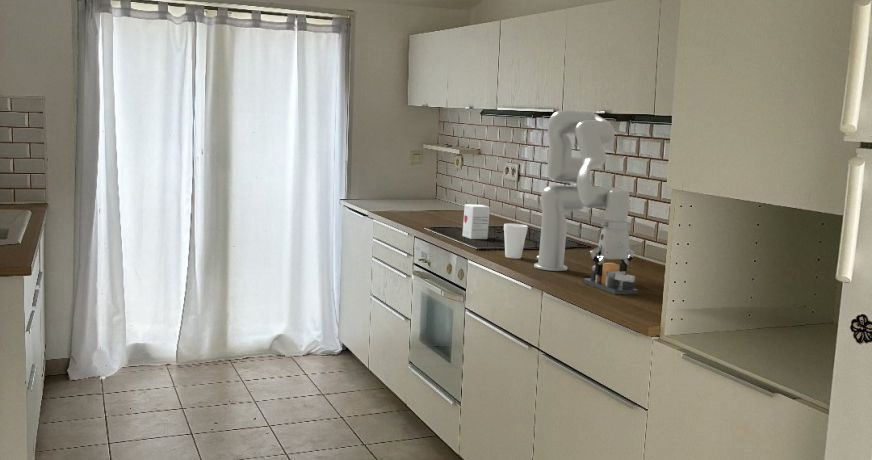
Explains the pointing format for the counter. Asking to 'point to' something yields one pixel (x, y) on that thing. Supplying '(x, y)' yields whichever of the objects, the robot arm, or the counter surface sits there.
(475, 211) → the supplement box
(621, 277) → the shaft stand
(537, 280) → the counter surface
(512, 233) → the foam cup
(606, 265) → the orange block
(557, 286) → the counter surface
